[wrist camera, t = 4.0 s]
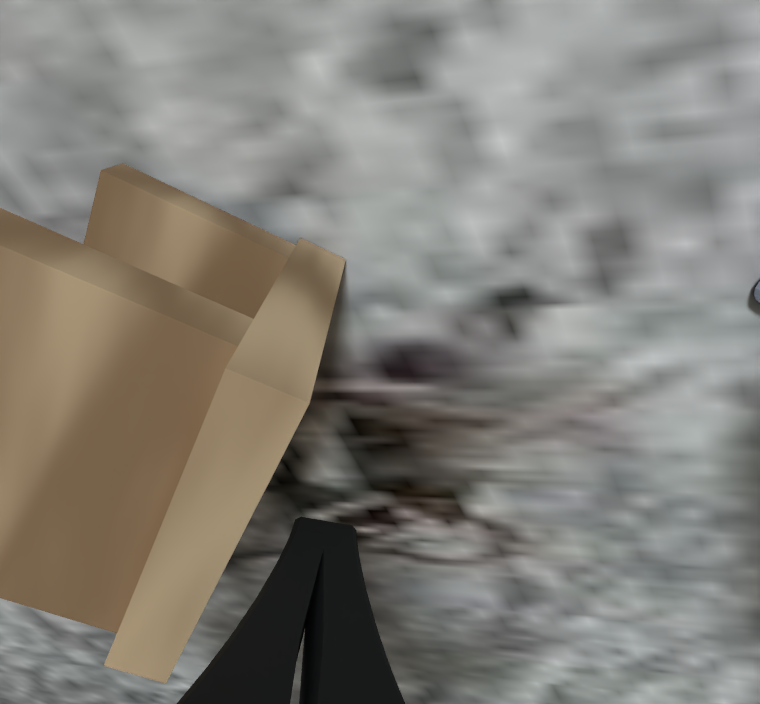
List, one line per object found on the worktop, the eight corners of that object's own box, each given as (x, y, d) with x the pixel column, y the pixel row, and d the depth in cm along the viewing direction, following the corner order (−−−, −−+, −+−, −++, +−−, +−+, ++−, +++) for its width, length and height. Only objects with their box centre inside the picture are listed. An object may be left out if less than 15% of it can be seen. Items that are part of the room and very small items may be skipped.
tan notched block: (136, 159, 15) (345, 259, 16) (72, 400, 19) (246, 466, 20) (-100, 233, 8) (309, 403, 9) (-125, 599, 12) (165, 683, 13)
